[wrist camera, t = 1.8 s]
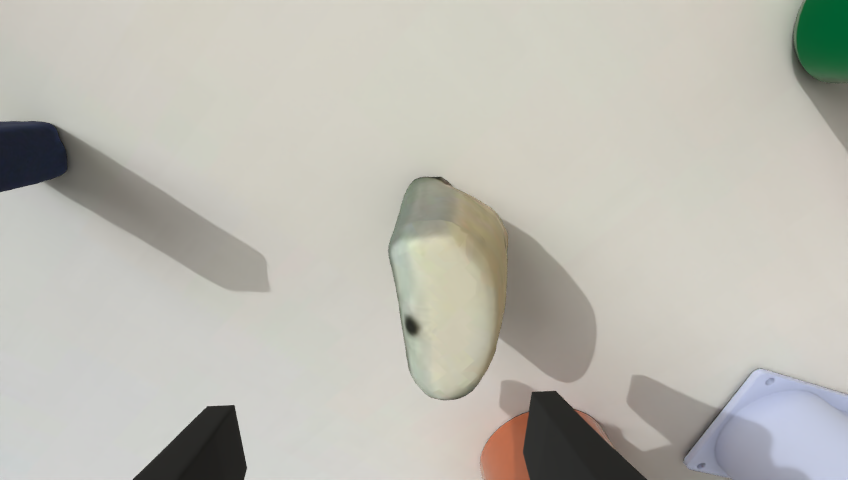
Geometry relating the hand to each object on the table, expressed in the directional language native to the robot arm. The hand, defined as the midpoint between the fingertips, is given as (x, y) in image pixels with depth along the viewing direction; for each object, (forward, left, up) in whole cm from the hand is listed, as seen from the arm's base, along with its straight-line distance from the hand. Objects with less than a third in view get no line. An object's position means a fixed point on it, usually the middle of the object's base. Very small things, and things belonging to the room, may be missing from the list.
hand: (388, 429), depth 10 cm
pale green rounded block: (-1, -3, -10) cm, 10 cm away
